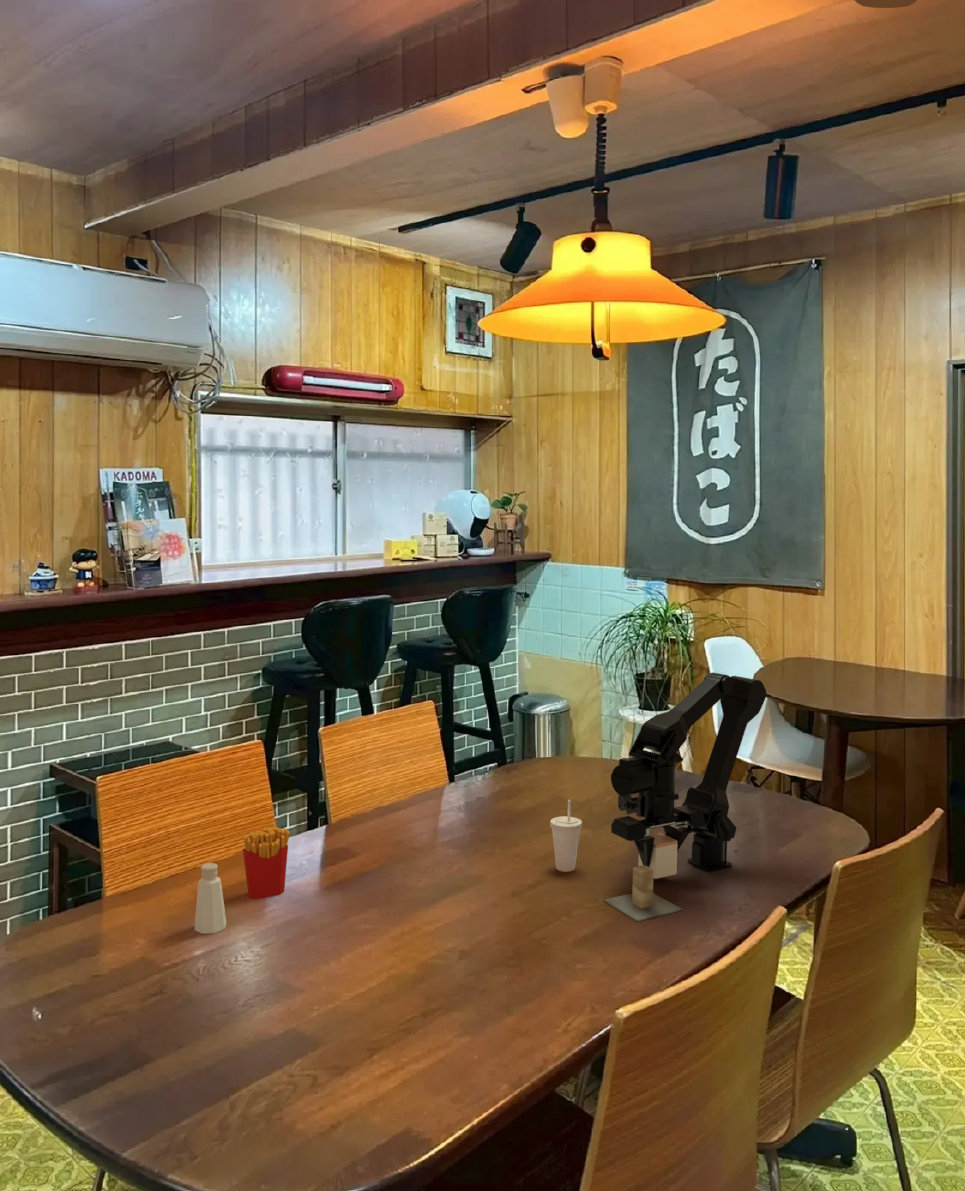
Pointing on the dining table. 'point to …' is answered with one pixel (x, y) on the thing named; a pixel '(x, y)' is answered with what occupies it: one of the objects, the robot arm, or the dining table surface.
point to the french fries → (266, 862)
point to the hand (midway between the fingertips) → (657, 865)
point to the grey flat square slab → (642, 898)
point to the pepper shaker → (209, 902)
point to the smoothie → (566, 840)
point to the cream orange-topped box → (663, 856)
